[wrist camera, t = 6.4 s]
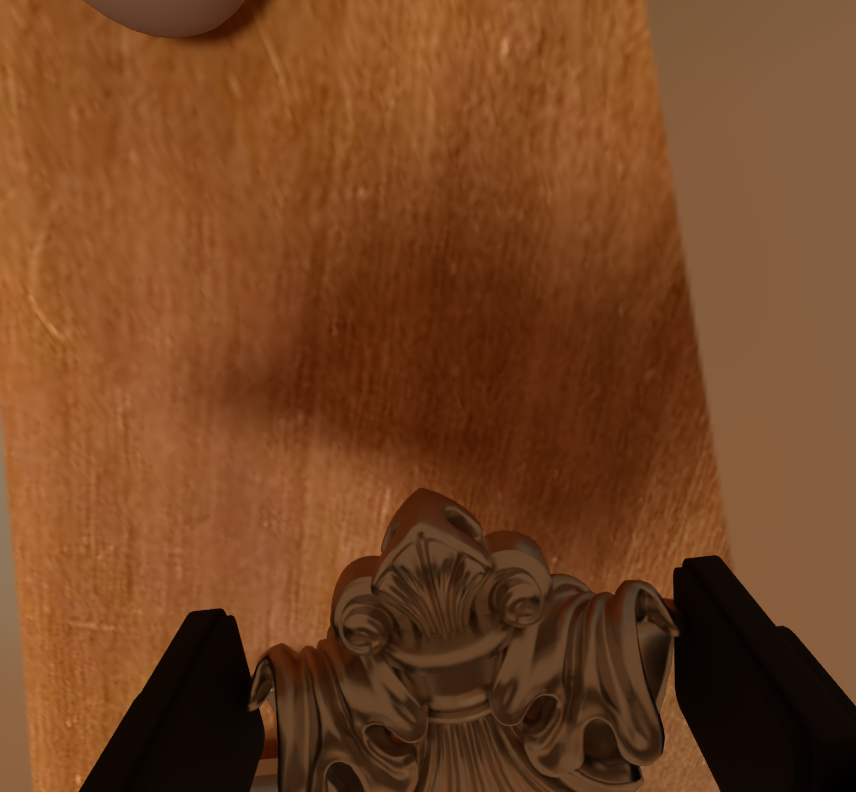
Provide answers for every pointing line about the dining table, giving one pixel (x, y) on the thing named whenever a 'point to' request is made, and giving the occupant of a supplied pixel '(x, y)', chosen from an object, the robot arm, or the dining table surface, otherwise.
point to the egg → (168, 15)
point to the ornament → (470, 670)
